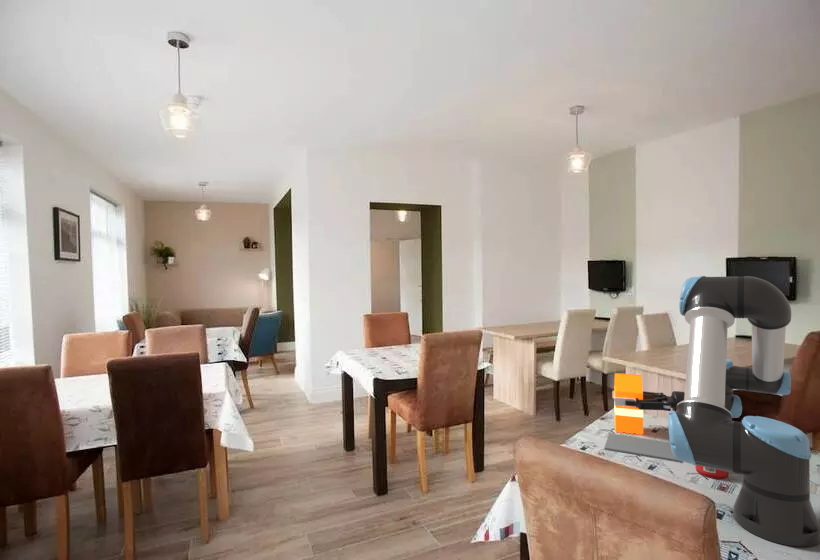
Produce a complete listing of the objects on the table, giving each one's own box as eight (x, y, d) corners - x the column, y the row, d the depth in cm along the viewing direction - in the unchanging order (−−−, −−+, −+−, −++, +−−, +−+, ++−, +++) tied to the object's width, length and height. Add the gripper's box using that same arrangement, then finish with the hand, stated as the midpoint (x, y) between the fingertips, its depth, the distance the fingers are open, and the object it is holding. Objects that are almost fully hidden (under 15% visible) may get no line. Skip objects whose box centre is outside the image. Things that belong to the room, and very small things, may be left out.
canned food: (736, 479, 122) (735, 439, 122) (706, 480, 122) (706, 440, 122) (717, 467, 130) (717, 429, 129) (689, 467, 130) (689, 430, 130)
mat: (680, 462, 133) (680, 460, 133) (604, 449, 144) (604, 447, 144) (679, 445, 145) (679, 443, 145) (609, 434, 156) (609, 433, 156)
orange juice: (643, 434, 155) (643, 377, 154) (615, 431, 158) (615, 375, 157) (641, 427, 162) (640, 372, 161) (614, 424, 165) (613, 370, 165)
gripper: (693, 423, 144) (616, 417, 152) (679, 404, 163) (611, 399, 171) (693, 400, 144) (616, 395, 151) (679, 384, 163) (611, 380, 171)
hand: (613, 397), depth 161 cm, fingers closed on orange juice, 8 cm apart
